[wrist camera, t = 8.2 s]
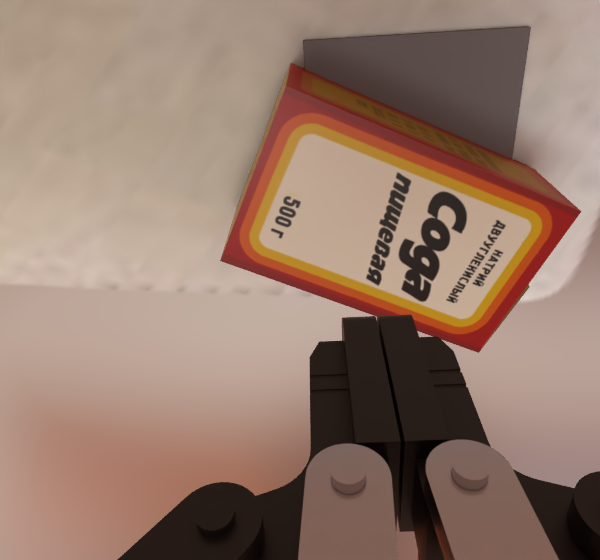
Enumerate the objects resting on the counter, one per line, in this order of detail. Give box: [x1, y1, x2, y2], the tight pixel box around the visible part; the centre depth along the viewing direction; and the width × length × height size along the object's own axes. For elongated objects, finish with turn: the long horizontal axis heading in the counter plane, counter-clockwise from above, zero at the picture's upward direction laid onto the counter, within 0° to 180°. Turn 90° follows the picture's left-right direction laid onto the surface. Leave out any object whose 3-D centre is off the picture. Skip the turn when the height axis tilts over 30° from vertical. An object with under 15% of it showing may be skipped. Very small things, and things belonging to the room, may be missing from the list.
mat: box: [303, 26, 531, 159], centre depth 31 cm, size 12×11×1 cm
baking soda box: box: [220, 64, 581, 352], centre depth 30 cm, size 10×6×16 cm
